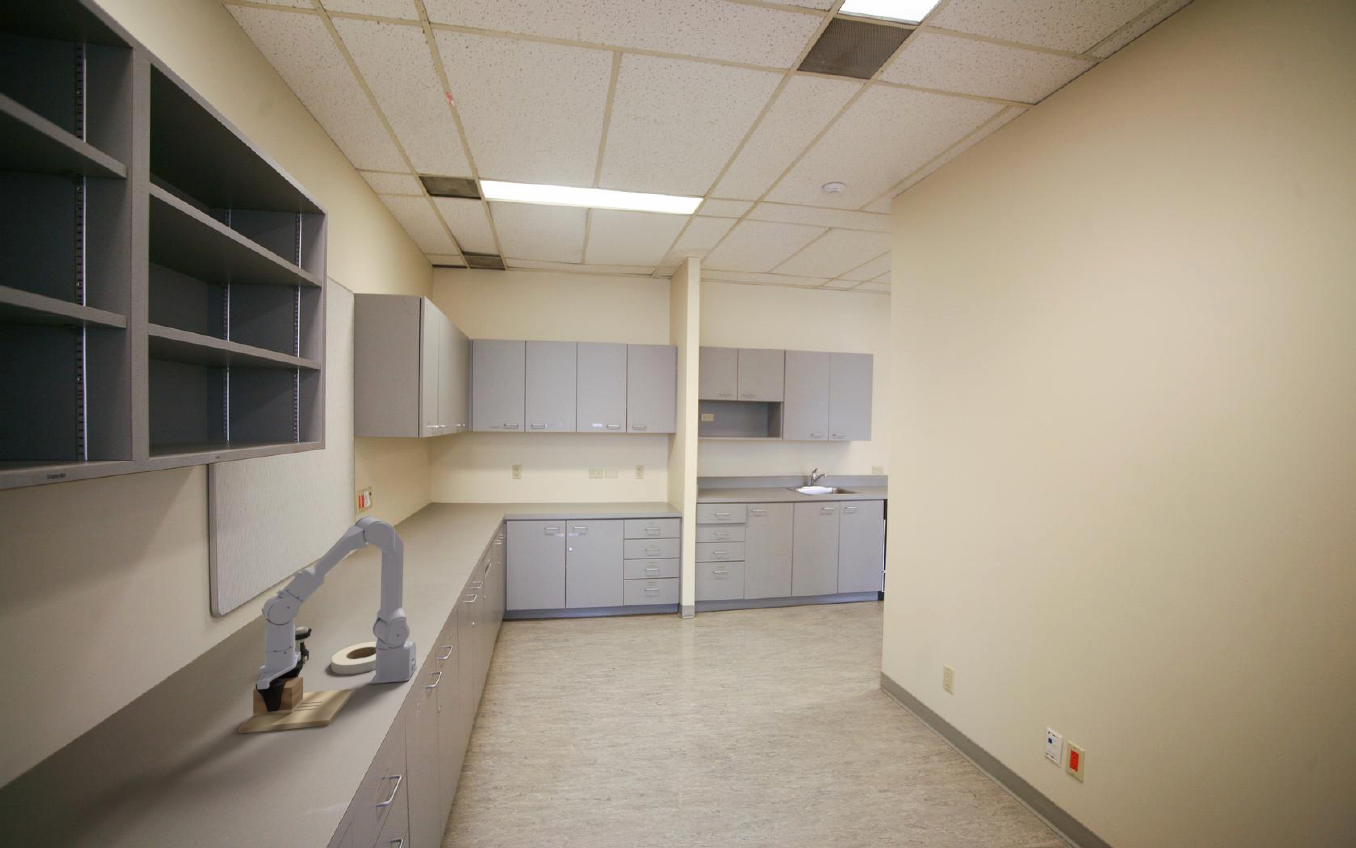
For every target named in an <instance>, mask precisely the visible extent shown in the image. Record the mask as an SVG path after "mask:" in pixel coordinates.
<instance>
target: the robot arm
mask: <svg viewBox="0 0 1356 848" xmlns="http://www.w3.org/2000/svg"><path fill="white" fill-rule="evenodd" d="M367 543H368V544H370V545H372V546H375V548H378V549H379V550H380V551H381V572H380V573H381V574H380V608H379V609H378V611H377V612H376V620H375V622H374V623H373V626H372V633H373V635H374V636H375V638H377V640H376V641H377V642H376V641H375V642H376V669H375V674H374V676H373V677H372V678H371V680H370V681H369V684H370V685H372V684H375V685H376V684H384V683H386V684H387V683H395V682H396V683H397V682H407V681H409V680H410V679H411V677H412V675H413V674H414V673H415V671H416V669H417V668H418V666H417V644H416V642H415V641H408V638H409V637H410V634H411V633H410V627H409V625H408V622H407V616H406V613H405V611H404V608H403V597H404V596H403V595H404V594H403V592H404V591H403V590H404V589H403V587H404V585H403V584H404V581H403V580H404V557H405V556H404V553H405V552H404V551H405V549H404V548H405V543H404V541H403V539H402V538H401V536H400V535H399V533H398V532H397V530H396V529H395V526H393V524H390V523H389V522H387V521H385V520H380V519H377V518H376V517H374V516H369V515H368V516H363V517H360V518H359V519H358V520H357V521H356V522H355V523H354V524H353V525H351V526H350V527H348V528H347V529H346V531H345V532H344V534H343V535H342V536H341V537H340V538H339V539H338V540H337V541H336V542H335V543H334V545H333V546H332V547H331V548H330V549H329V550H328V551H327V552H326V553H325V554H324V555H323V556H322V557H321V558H320V559H319V560H318V562H316V563H315V564H314V566H311V567H306V568H303V569H302V570H301V571H297V572H295V573H294V574H293V576H294V577H293V579H292V580H290V582H288V584H287V585H286V586H284V587H283V588H282V589H279V590H278V591H277V592H276V595H274V596H271V597H270V598H268V599H267V600H266V601H265V602H264V604H263V607H262V608H261V613H262V614H263V616H264V617H265V618H266V619H265V624H264V625H265V626H264V627H265V630H264V665H262V666H261V667H259V670H258V671H259V672H260V673H261V672H262V673H261V675H260V677H259V679H258V680H257V681H256V682H257V683H256V684H255V688H256V690H257V691H258V692H259V693H260V694H261V696H262V698H263V700H264V702H265V705H266V708H267V711H268V712H273V711H278V710H279V708H280V704H281V696H282V692H283V688H284V686H285V684H286V682H287V680H286V681H279V680H277V679H282V678H295V677H299V675H300V673H301V671H302V670H303V667H304V663H303V664H297V661H299V660H300V659H301V652H295V628H296V624H295V623H296V622H295V620H296V619H295V618H296V617H297V616H298V615H299V612H300V607H301V606H303V605H304V603H306V602H307V600H308V599H310V597H312V595H314V593H315V592H317V590H318V589H319V588H320V587H322V585H324V584H325V578H326V577H325V576H326V575H327V574H328V573H329V572H330V571H331V570H333V568H335V567H336V566H337V565H338V564H339V563H340V562H341V561H342V560H343V559H344V558H345V557H347V556H348V555H349V554H350V553H351V552H352V551H355V550H360V549H365V548H367V547H368V545H367Z"/></svg>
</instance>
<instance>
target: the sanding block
mask: <svg viewBox="0 0 1356 848" xmlns="http://www.w3.org/2000/svg"><path fill="white" fill-rule="evenodd" d="M277 680H279V681H286V680H287V682H286V684H285V686H284V688H283V692H282V696H281V704H280V708H279V710H278V711H273V712H268V711H267V708H266V705H265V702H264V700H263V698H262V696H261V694H260V693H259V692H258V691H257V690H256V687H255V688H254V689H253V690H252V694H253V695H252V716H262V715H273V714H285V713H292V712H293V711H294V710H295V709H296V708H297V707H298V706H299V705H300V704H301V703H302V702H303V693H304V677H303V676H298V677H295V678H282V679H277Z"/></svg>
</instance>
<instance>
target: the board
mask: <svg viewBox="0 0 1356 848" xmlns="http://www.w3.org/2000/svg"><path fill="white" fill-rule="evenodd" d="M354 695H355V688H346V689H335V690H332V689H331V690H322V691H321V690H319V691H309V692H303V702H302V703H301V704H300V705H299V706H298V707H297V708H296V709H295V710H294V711H293V712H292V713H285V714H273V715H262V716H253V715H252V716H251V717H250V718H248V719H247V720H246V721H245V722H244V723H243V724H242V725H241V726H240V727H239V728H238V734H246V733H258V732H269V731H280V729H281V730H288V729H289V730H292V729H300V728H310V727H321V726H329V725H331V723H332V722H333V720H334V719H335V718H336V717H337V716H338V714H339V713H340V712H341V710H343V709H344V707H345V706H346V705H347V704H348V702H349V701H350V699H352V697H353V696H354Z"/></svg>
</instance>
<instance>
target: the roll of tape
mask: <svg viewBox="0 0 1356 848" xmlns="http://www.w3.org/2000/svg"><path fill="white" fill-rule="evenodd" d="M376 642H377V640H376V641H368V642H362V643H357V644H353V645H351V646H347V647H345V648H343V649H341V650H339V651H337V652H336V653H334V654H333V655H332V656H331V658H330V659H331V660H330V665H331V667H330V669H331V671H332V672H334V673H335V674H341V675H353V674H361V673H366V672H369V671H373V670H376ZM364 656H366V657H364ZM359 657H362V658H359Z"/></svg>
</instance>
